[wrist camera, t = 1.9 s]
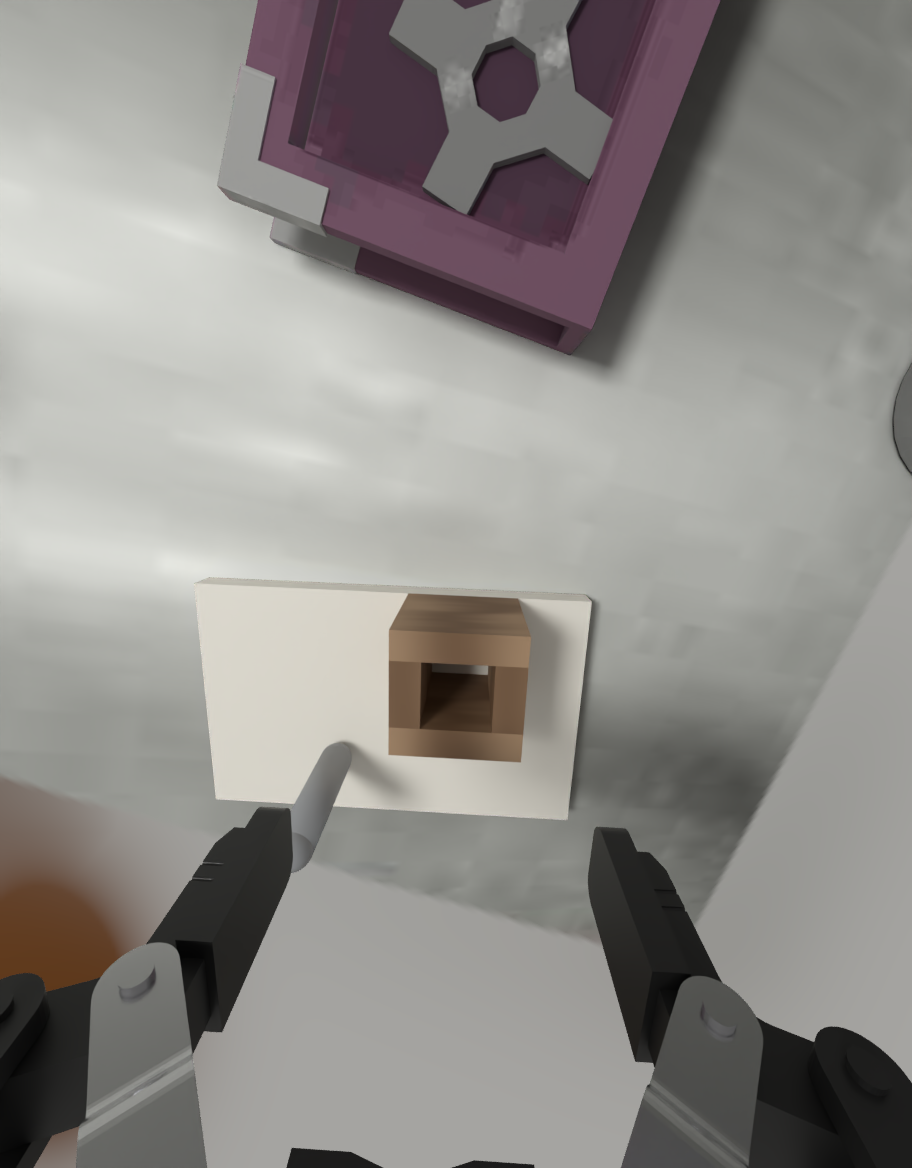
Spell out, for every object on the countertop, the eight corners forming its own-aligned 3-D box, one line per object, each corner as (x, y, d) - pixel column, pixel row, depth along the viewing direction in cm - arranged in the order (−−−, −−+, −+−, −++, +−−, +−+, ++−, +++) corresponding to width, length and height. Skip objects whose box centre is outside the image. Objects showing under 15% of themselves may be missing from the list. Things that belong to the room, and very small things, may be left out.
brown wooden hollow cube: (518, 598, 25) (531, 636, 19) (510, 698, 26) (521, 762, 21) (408, 593, 25) (388, 630, 19) (407, 693, 27) (388, 755, 21)
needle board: (585, 594, 26) (648, 665, 17) (562, 803, 30) (604, 961, 20) (209, 577, 27) (62, 635, 17) (228, 783, 30) (114, 927, 21)
